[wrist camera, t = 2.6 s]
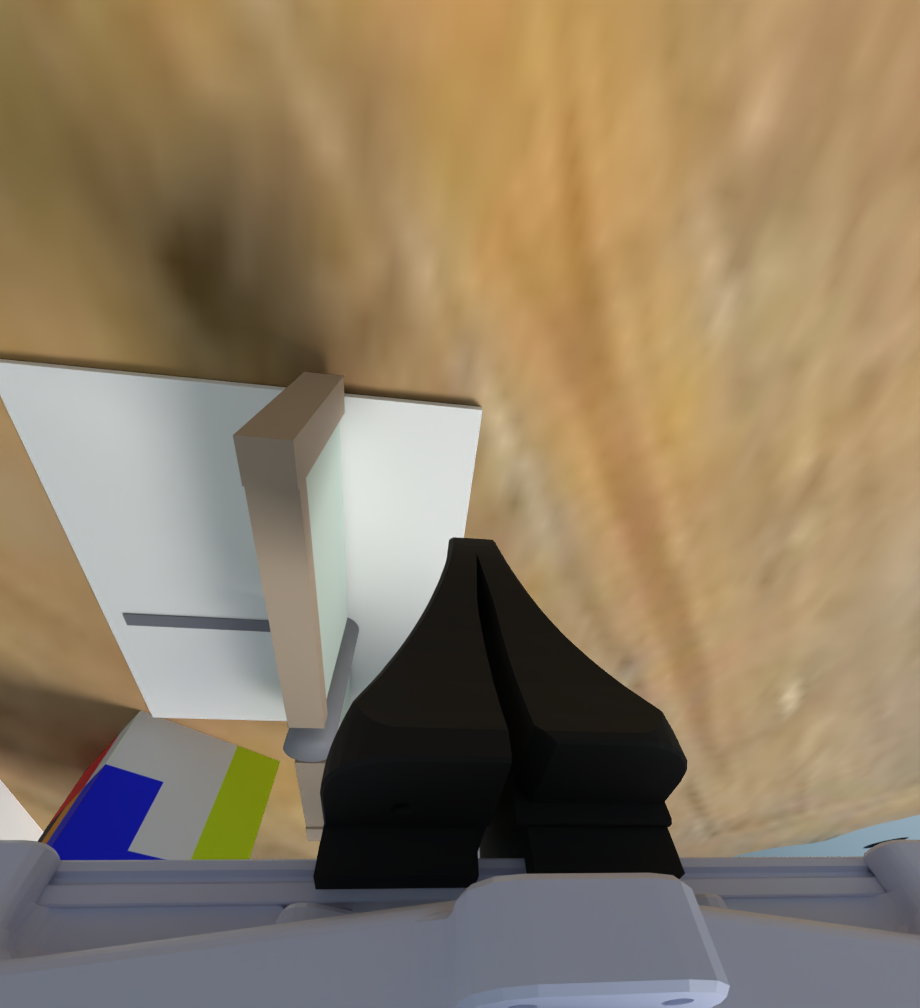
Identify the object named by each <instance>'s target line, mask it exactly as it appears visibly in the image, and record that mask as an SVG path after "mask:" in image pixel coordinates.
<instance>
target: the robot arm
mask: <svg viewBox="0 0 920 1008" xmlns="http://www.w3.org/2000/svg"><path fill="white" fill-rule="evenodd" d="M686 770H687V759H686V757H685V755H684V753H683V751H682V749H681V747H680V745H679V742H678V740H677V738H676V736H675V734H674V732H673V730H672V728H671V726H670V725H669V723H668V721H667V720H666V718H665V716H664V714H663V712H662V711H660V710H659V709H658V708H656V707H655V706H653V705H652V704H650V703H649V702H647V701H646V700H644V699H643V698H641V697H640V696H638V695H637V694H635V693H634V692H632V691H631V690H629V689H628V688H626V687H625V686H624V685H622V684H621V683H620V682H618V681H617V680H616V679H614V678H613V677H612V676H611V675H609V674H608V673H607V672H605V671H604V670H603V669H601V668H600V667H599V666H598V665H597V664H595V663H594V662H593V661H592V660H591V659H589V658H588V657H587V656H586V655H585V654H584V653H583V652H582V651H581V650H579V649H578V648H577V647H576V646H575V645H574V644H573V643H572V642H571V641H570V640H568V639H567V638H566V637H565V636H564V635H563V634H562V633H561V632H560V631H559V629H558V628H557V627H556V626H555V625H554V624H553V623H552V622H551V621H550V620H549V619H548V618H547V616H546V615H545V614H544V613H543V612H542V611H541V609H540V608H539V607H538V606H537V604H536V603H535V602H534V601H533V599H532V598H531V597H530V595H529V594H528V593H527V591H526V590H525V589H524V587H523V586H522V584H521V583H520V582H519V580H518V579H517V577H516V576H515V574H514V573H513V571H512V570H511V568H510V567H509V565H508V564H507V562H506V560H505V559H504V557H503V555H502V554H501V552H500V550H499V549H498V547H497V545H496V543H495V542H494V541H493V540H486V539H471V538H457V537H453V538H451V539H450V540H449V543H448V551H447V559H446V563H445V566H444V569H443V571H442V574H441V577H440V579H439V582H438V584H437V586H436V588H435V590H434V592H433V595H432V597H431V599H430V601H429V603H428V605H427V606H426V608H425V610H424V612H423V614H422V615H421V617H420V619H419V620H418V622H417V624H416V625H415V627H414V628H413V630H412V631H411V633H410V634H409V636H408V637H407V639H406V640H405V641H404V643H403V644H402V646H401V647H400V648H399V650H398V651H397V652H396V653H395V655H394V656H393V657H392V658H391V660H390V661H389V662H388V663H387V665H386V666H385V667H384V668H383V669H382V671H381V672H380V673H379V674H378V675H377V676H376V678H375V679H374V680H373V681H372V682H371V683H370V684H369V685H368V686H367V687H366V688H365V689H364V690H363V691H362V692H361V693H360V694H359V695H358V697H357V698H356V699H355V700H354V701H353V702H352V704H351V706H350V708H349V709H348V711H347V713H346V715H345V717H344V719H343V721H342V723H341V725H340V727H339V729H338V731H337V733H336V735H335V737H334V740H333V742H332V745H331V747H330V750H329V753H328V756H327V759H326V763H325V767H324V772H323V777H322V782H321V788H320V798H321V805H322V812H323V820H324V826H323V831H322V836H321V841H320V846H319V851H318V856H317V859H243V860H60V857H59V855H58V853H57V852H56V851H55V850H54V849H53V848H52V847H50V846H49V845H47V844H44V843H41V842H37V841H29V840H0V1008H920V840H892V841H887V842H883V843H880V844H878V845H876V846H874V847H872V848H871V849H869V850H868V851H867V852H866V853H865V854H864V857H683V858H679V856H678V854H677V851H676V849H675V846H674V843H673V841H672V838H671V836H670V833H669V831H668V828H667V827H670V825H671V824H672V820H671V816H670V814H669V811H668V809H667V806H666V804H665V800H666V799H667V798H668V797H669V795H670V794H671V793H672V792H673V790H674V789H675V788H676V787H677V785H678V784H679V783H680V782H681V780H682V778H683V776H684V774H685V772H686Z"/></svg>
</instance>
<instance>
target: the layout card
mask: <svg viewBox="0 0 920 1008" xmlns="http://www.w3.org/2000/svg"><path fill="white" fill-rule="evenodd" d="M285 388H286V387H277V386H267V385H257V384H247V383H237V382H227V381H217V380H207V379H197V378H187V377H177V376H167V375H157V374H147V373H136V372H126V371H116V370H106V369H96V368H86V367H76V366H66V365H56V364H46V363H36V362H26V361H16V360H6V359H0V396H1V398H2V400H3V402H4V404H5V406H6V408H7V410H8V413H9V415H10V417H11V419H12V421H13V423H14V425H15V427H16V429H17V432H18V434H19V436H20V438H21V440H22V442H23V444H24V446H25V448H26V451H27V453H28V455H29V457H30V459H31V461H32V463H33V465H34V467H35V470H36V472H37V474H38V476H39V478H40V480H41V482H42V484H43V486H44V489H45V491H46V493H47V495H48V497H49V499H50V501H51V503H52V505H53V508H54V510H55V512H56V514H57V516H58V518H59V520H60V522H61V524H62V527H63V529H64V531H65V533H66V535H67V537H68V539H69V541H70V543H71V546H72V548H73V550H74V552H75V554H76V556H77V558H78V560H79V562H80V565H81V567H82V569H83V571H84V573H85V575H86V577H87V579H88V581H89V584H90V586H91V588H92V590H93V592H94V594H95V596H96V598H97V600H98V603H99V605H100V607H101V609H102V611H103V613H104V615H105V617H106V619H107V622H108V624H109V626H110V628H111V630H112V632H113V634H114V636H115V638H116V641H117V643H118V645H119V647H120V649H121V651H122V653H123V655H124V657H125V660H126V662H127V664H128V666H129V668H130V670H131V672H132V674H133V676H134V679H135V681H136V683H137V685H138V687H139V689H140V691H141V693H142V695H143V698H144V700H145V702H146V704H147V706H148V708H149V710H150V712H151V714H152V717H156V718H192V719H229V720H265V721H287V718H286V713H285V707H284V702H283V697H282V691H281V686H280V680H279V675H278V669H277V664H276V658H275V653H274V647H273V642H272V636H271V631H270V625H269V620H268V614H267V609H266V603H265V598H264V592H263V587H262V581H261V576H260V571H259V565H258V560H257V554H256V549H255V543H254V538H253V532H252V527H251V521H250V516H249V510H248V505H247V499H246V494H245V488H244V486H242V483H241V477H240V472H239V466H238V461H237V456H236V450H235V445H234V439H233V434H235V433H236V432H237V431H238V430H239V429H240V428H241V427H242V426H244V425H245V424H246V423H247V422H248V421H249V420H250V419H252V418H253V417H254V416H255V415H256V414H257V413H258V412H259V411H261V410H262V409H263V408H264V407H265V406H266V405H267V404H268V403H270V402H271V401H272V400H273V399H274V398H275V397H276V396H277V395H279V394H280V393H281V392H282V391H283V390H284V389H285ZM344 403H345V413H344V415H343V417H342V418H341V420H340V437H341V462H342V488H343V513H344V538H345V563H346V588H347V613H348V618H350V619H352V620H354V621H355V622H356V623H357V625H358V627H359V633H358V638H357V642H356V647H355V652H354V656H353V661H352V666H351V670H350V688H351V704H352V702H353V701H354V700H355V699H356V698H357V697H358V695H359V694H360V693H361V692H362V691H363V690H364V689H365V688H366V687H367V686H368V685H369V684H370V683H371V682H372V681H373V680H374V679H375V678H376V676H377V675H378V674H379V673H380V672H381V671H382V669H383V668H384V667H385V666H386V665H387V663H388V662H389V661H390V660H391V658H392V657H393V656H394V655H395V653H396V652H397V651H398V650H399V648H400V647H401V646H402V644H403V643H404V641H405V640H406V639H407V637H408V636H409V634H410V633H411V631H412V630H413V628H414V627H415V625H416V624H417V622H418V620H419V619H420V617H421V615H422V614H423V612H424V610H425V608H426V606H427V605H428V603H429V601H430V599H431V597H432V595H433V592H434V590H435V588H436V586H437V584H438V582H439V579H440V577H441V574H442V571H443V569H444V566H445V563H446V559H447V551H448V543H449V540H450V539H451V538H453V537H457V538H464V532H465V525H466V519H467V512H468V505H469V498H470V491H471V485H472V478H473V471H474V464H475V457H476V450H477V444H478V437H479V430H480V423H481V416H482V407H477V406H467V405H457V404H447V403H437V402H427V401H417V400H407V399H397V398H387V397H377V396H367V395H357V394H347V393H344Z"/></svg>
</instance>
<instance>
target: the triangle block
mask: <svg viewBox="0 0 920 1008" xmlns="http://www.w3.org/2000/svg"><path fill="white" fill-rule="evenodd" d="M42 834H43V831H42V830H41V828H40V827H39V826H38V825H37V824H36V822H35V821H34V820H33V819H32V818H31V816H30V815H29V814H28V813H27V812H26V810H25V809H24V808H23V807H22V805H21V804H20V803H19V802H18V801H17V799H16V798H15V797H14V796H13V795H12V793H11V792H10V791H9V790H8V789H7V787H6V786H5V785H4V784H3V783H2V781H1V780H0V840H29V841H38V840H39V838H40V837H41V835H42Z"/></svg>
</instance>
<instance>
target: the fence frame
mask: <svg viewBox="0 0 920 1008" xmlns="http://www.w3.org/2000/svg"><path fill="white" fill-rule="evenodd" d="M358 633H359V627H358V625H357V623H356V622H355V621H354V620H352V619H350V618H348V617H347V621H346V625H345V629H344V633H343V637H342V641H341V645H340V649H339V653H338V656H337V660H336V664H335V668H334V672H333V676H332V680H331V684H330V688H329V692H328V695H327V699H326V701H327V712H328V715H327V719H326V723H325V727H324V729H322V728H289V730H288V733H287V736H286V740H285V743H284V746H283V749H284V752H285V753H286V754H287V755H288V756H290V757H291V758H293V759H296V760H295V768H296V773H297V779H298V784H299V790H300V795H301V801H302V806H303V812H304V817H305V822H306V833H307V839H308V841H321V836H322V831H323V826H324V820H323V812H322V805H321V798H320V788H321V782H322V777H323V772H324V767H325V763H326V759H327V756H328V753H329V750H330V747H331V745H332V742H333V740H334V737H335V735H336V733H337V731H338V729H339V727H340V725H341V723H342V721H343V719H344V717H345V715H346V713H347V711H348V709H349V708H350V706H351V688H350V670H351V666H352V661H353V656H354V652H355V647H356V642H357V638H358Z"/></svg>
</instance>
